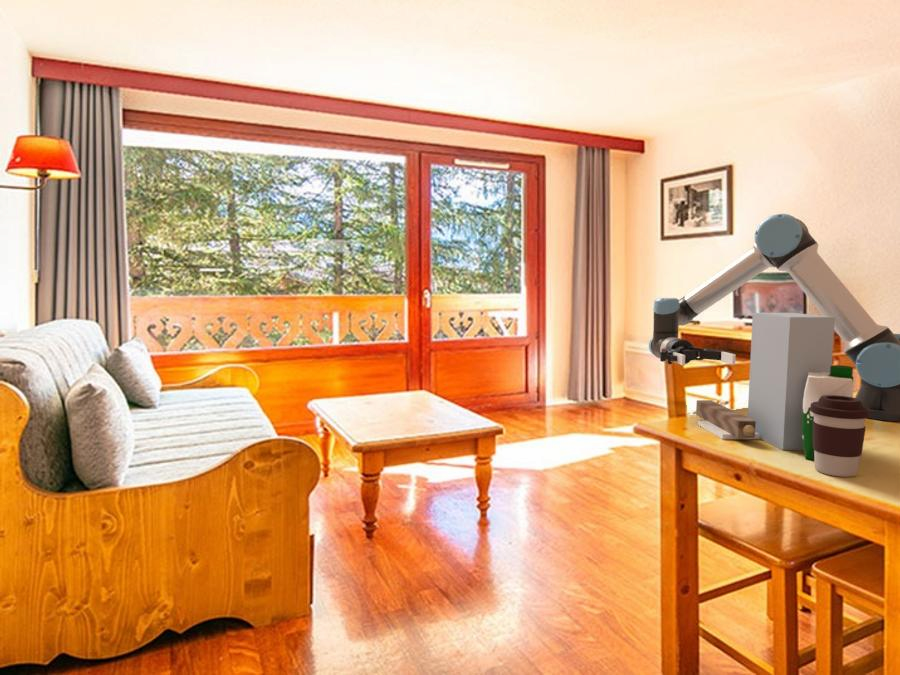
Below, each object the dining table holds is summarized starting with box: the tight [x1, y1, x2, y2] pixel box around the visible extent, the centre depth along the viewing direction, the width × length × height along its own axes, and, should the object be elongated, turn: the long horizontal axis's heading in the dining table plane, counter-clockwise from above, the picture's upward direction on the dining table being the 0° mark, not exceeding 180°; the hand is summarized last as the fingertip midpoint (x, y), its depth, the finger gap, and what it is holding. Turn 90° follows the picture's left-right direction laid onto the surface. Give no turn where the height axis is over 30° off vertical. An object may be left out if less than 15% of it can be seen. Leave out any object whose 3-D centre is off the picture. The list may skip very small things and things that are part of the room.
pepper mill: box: [695, 399, 756, 438], centre depth 154 cm, size 26×4×4 cm, turn 0°
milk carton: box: [802, 364, 854, 461], centre depth 131 cm, size 9×9×20 cm
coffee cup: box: [810, 395, 870, 478], centre depth 121 cm, size 10×10×15 cm
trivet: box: [697, 420, 761, 440], centre depth 153 cm, size 14×9×1 cm, turn 1°
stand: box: [747, 312, 835, 451], centre depth 144 cm, size 16×10×30 cm, turn 1°
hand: (709, 360), depth 163 cm, fingers open, 13 cm apart
